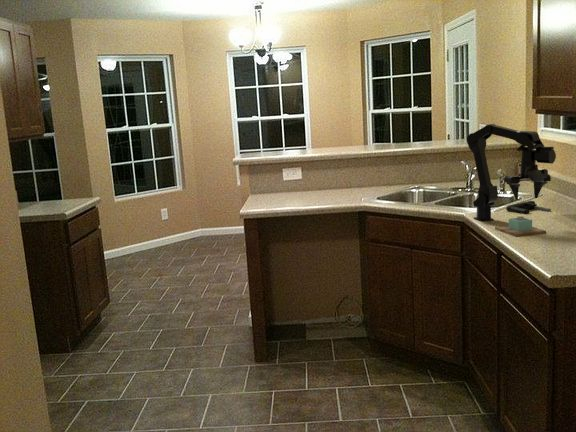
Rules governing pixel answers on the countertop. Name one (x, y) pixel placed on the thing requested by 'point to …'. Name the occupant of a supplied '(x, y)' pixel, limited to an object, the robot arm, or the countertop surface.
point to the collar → (520, 224)
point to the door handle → (525, 207)
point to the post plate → (520, 233)
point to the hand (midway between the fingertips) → (526, 198)
